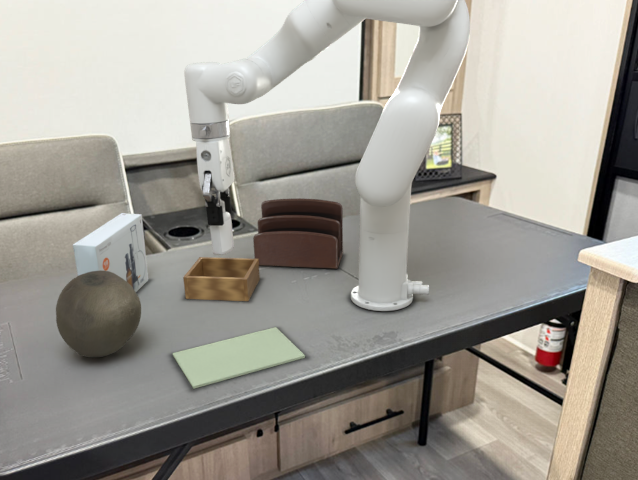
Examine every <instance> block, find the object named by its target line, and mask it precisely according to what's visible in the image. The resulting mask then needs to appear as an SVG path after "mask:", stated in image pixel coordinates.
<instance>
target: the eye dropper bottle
mask: <svg viewBox="0 0 638 480" xmlns="http://www.w3.org/2000/svg"><path fill="white" fill-rule="evenodd" d="M220 206H222V209H223V218H224V224H223V225H222V226H209V231H210V232H209V233H210V239H211V240H210V241H211V249H212V254H213V255H215V256H224V255H226V254H229V253H230V252H232V251H233V249H234V247H235V241H234V234H233V233H234V232H233V223H232V215H230V213H228V212H225V203H224V201H222V200H221V199H220Z"/></svg>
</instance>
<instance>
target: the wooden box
mask: <svg viewBox="0 0 638 480" xmlns="http://www.w3.org/2000/svg"><path fill="white" fill-rule="evenodd" d="M260 276H261V275H260V266H259V259H254V258H245V257H244V258H243V257H212V256H211V257H207V256H206V257H205V256H199V257H198V258H197V259H196V260H195V262H194V263H193V264H192V266H191V267H190V268H189V269H188V270H187V272H186V273H185V274H184V275H183V276H182V278H183V279H182V280H183V286H184V296H185V299H186V300H203V301H204V300H205V301H229V302H230V301H231V302H232V301H233V302H249V301H250V299H251V297H252V296H253V293H254V291H255V289H256V287H257V286H258V284H259V282H260V280H261V278H260Z"/></svg>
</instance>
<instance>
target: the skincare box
mask: <svg viewBox="0 0 638 480" xmlns="http://www.w3.org/2000/svg"><path fill="white" fill-rule="evenodd" d="M144 232H145V231H144V224H143V215H142V214H141V213H140V214H139V213H127V212H121V213H119V214H118V215H116V216H115V217H113V218H112V219H110V220H108V221H107V222H105V223H104V224H102V225H100V226H99V227H97V228H96V229H95V230H93V231H92V232H90V233H89V234H86V235H85V236H83V237H82V238H80V239H79V240H77V241H76V242H74V243H73V244H72V250H73V254H74V260H75V268H76V274H77V276H79V275H81V274H84V273H87V272H91V271H100V270H101V271H109V272H112V273H115V274H116V275H118V276H119V277H121V278H123V279H124V280H125V281H127V282H128V283H129V284H130V285H131V286H132V287H133V289H134V291H135V292H136V293H137V292H139V290H140V289H142V287H143V286H144V285H145V284H147V283H148V282H149V280H150V279H149V271H148V263H147V253H146V252H147V251H146V243H145V242H146V241H145V233H144Z"/></svg>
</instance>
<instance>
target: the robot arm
mask: <svg viewBox="0 0 638 480" xmlns="http://www.w3.org/2000/svg"><path fill="white" fill-rule="evenodd" d="M366 19H367V20H373V21H381V22H388V23H395V24H403V25H409V26H410V25H411V26H417V27H418V36H417V40H416V44H415V45H414V48H413V51H412V53H411V55H410V57H409V60H408V63H407V65H406V67H405V69H404V72H403V74H402V76H401V78H400V80H399V82H398V84H397V87H396V88H395V90H394V92H393V93H392V95H391V96H390V98H389V99H388V101H387V102H386V104H385V106H384V108H383V109H382V112H381V114H380V117H379V119H378V121H377V123H376V126H375V128H374V130H373V133H372V135H371V137H370V139H369V142H368V143H367V145H366V148H365V150H364V152H363V155H362V157H361V160H360V162H359V164H358V166H357V168H356V171H355V176H354V183H355V188H356V191H357V193H358V195H359V197H360V198H359V199H360V200H359V201H360V202H359V226H358V228H359V229H358V231H359V233H358V235H359V236H358V238H359V239H358V284H357V285H356V286H355V287H353V288H352V289H351V291H350V300H351V301H352V303H354V305H356V306H358V307H360V308H362V309H365V310H369V311H374V312H393V311H398V310H401V309H402V310H403V309H404V308H406V307H408V306H409V305H411V304H412V302H413V300H414V295H415V294H416V295H427V296H428V295H429V294H430V285H429V284H423V281H422V280H415V281H414V280H413V281H412V280H411V279H408V278H409V277H408V275H409V274H408V273H407V271H408V269H407V268H408V266H407V265H408V250H409V248H408V247H409V231H410V230H409V229H410V214H411V198H412V185H413V181H414V178H415V177H416V175H417V173H418V171H419V169H420V167H421V165H422V163H423V161H424V159H425V157H426V155H427V153H428V151H429V149H430V146H431V145H432V144H433V141H434V139H435V136H436V134H437V132H438V128H439V125H440V118H441V111H442V108H443V105H444V103H445V101H446V99H447V97H448V95H449V93H450V90H451V89H452V87H453V84H454V82H455V79H456V77H457V75H458V73H459V71H460V68H461V66H462V64H463V61H464V59H465V56H466V54H467V51H468V47H469V43H470V37H471V36H470V35H471V18H470V12H469V8H468V4H467V1H466V0H303V1H302V2H301V3H300V4H298V5H297V6H296V7H295V8H293V9H292V10H291V11H290V12H289V13H288V15H287V16H286V17H285V20H284V22H283V24H282V25H281V27H280V28H279V30H278V31H277V32H276V33H275V34H274V35H273V36H272V37H271V38H270V39H268V40H267V41H266V42H265V43H264V44H263V45H261V46H260V47H259V48H257V49H256V50H255V51H254V52H253V53H251V54H250V55H249V56H247V57H245V58H241V59H237V60H232V61H230V62H225V63H220V62H218V61H206V62H205V61H203V62H193V63H190V64H187V65H186V66H185V68H184V71H183V72H184V73H183V75H184V83H185V84H184V85H185V94H186V100H187V109H188V117H189V118H188V119H189V124H190V133H191V140H192V142H195V147H196V149H195V151H196V165H197V166H196V167H197V176H198V184H199V188H200V189H199V190H201V192H202V196H203V198H204V199H203V200H204V201H205V203H204V206H205V210H206V218H207V219H206V220H207V224H208V226H209V227H210V226H222V225H223V224H224V218H223V209H222V206H220V199H221V200H222V201H224V203H225V212H228V213H230V215H231V216H232V215H233V210H232V202H231V190H230V186H232V185H233V184H234V183H235V180H236V177H235V169H234V162H233V154H232V148H231V143H230V138H231V136H232V135H231V125H230V124H231V123H230V115H229V114H230V113H229V105H228V104H231V105H247V104H249V103H251V102H253V101H255V100H257V99H259V98H261V97H263V96H265V95H267V93H269V92H271V91H272V90H273V89H274V88H275V87H277V86H278V85H279V84H281V83H282V82H283V81H284V80H286V79H287V78H289V77H291V75H292V74H293V73H295V72H296V71H297V70H299V69H300V68H301V67H303V66H304V65H305V64H307V63H309V62H310V61H312V60H314V59H315V58H316V57H317V56H319V55H320V54H321V53H323V52H324V51H326V50H327V49H328V48H329V47H330V46H332V45H333V44H334V43H335V42H336V41H338V40H340V39H341V38H342V37H344V36H345V35H346V34H347V33H349V32H350V31H351V30H353V29H354V28H356V27H357V26H358V25H360V24H361V23H362V22H364V20H366ZM212 189H214V190H212Z"/></svg>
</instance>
